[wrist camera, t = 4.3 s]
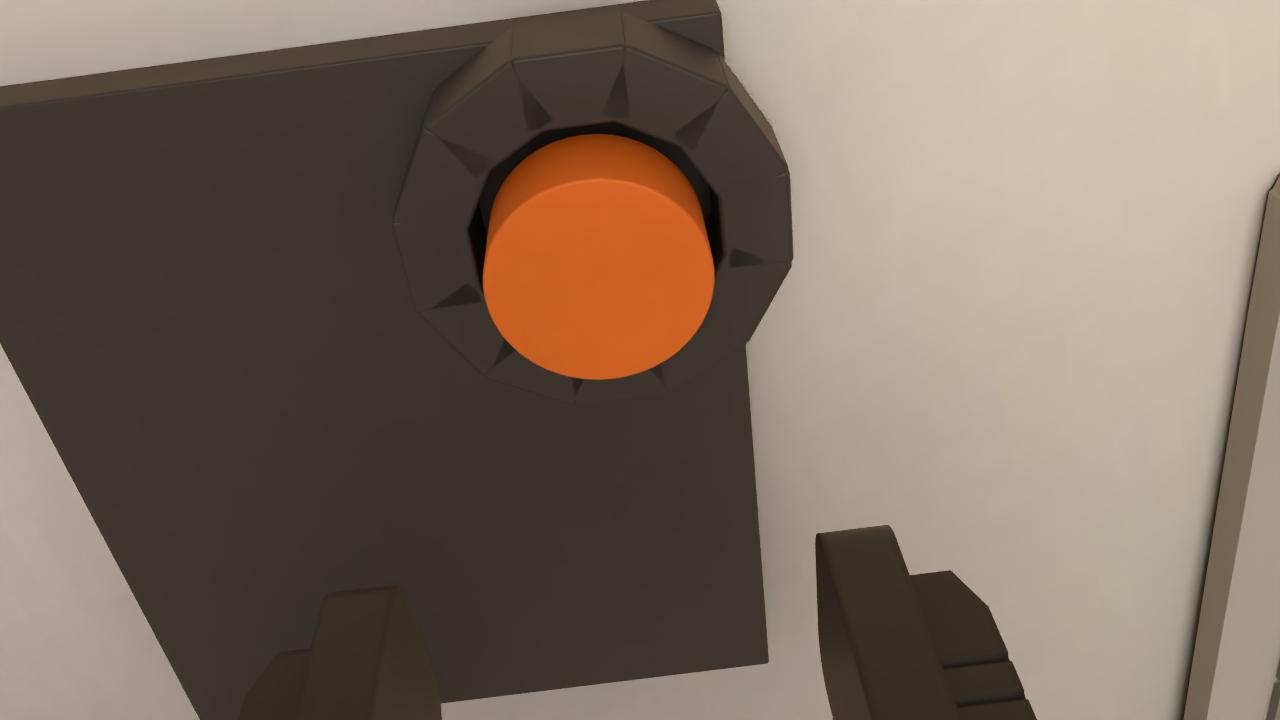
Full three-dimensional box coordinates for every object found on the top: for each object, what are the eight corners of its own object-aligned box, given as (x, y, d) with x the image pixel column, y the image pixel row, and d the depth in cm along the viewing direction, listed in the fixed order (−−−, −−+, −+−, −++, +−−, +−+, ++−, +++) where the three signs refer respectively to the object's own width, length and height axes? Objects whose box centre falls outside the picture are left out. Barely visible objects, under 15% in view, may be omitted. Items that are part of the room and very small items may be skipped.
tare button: (510, 336, 20) (505, 394, 18) (470, 148, 18) (460, 195, 16) (711, 310, 19) (722, 366, 18) (693, 118, 17) (705, 164, 16)
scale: (218, 693, 28) (185, 797, 26) (-90, 83, 19) (-189, 152, 17) (791, 623, 28) (813, 721, 25) (755, -30, 19) (784, 23, 16)
